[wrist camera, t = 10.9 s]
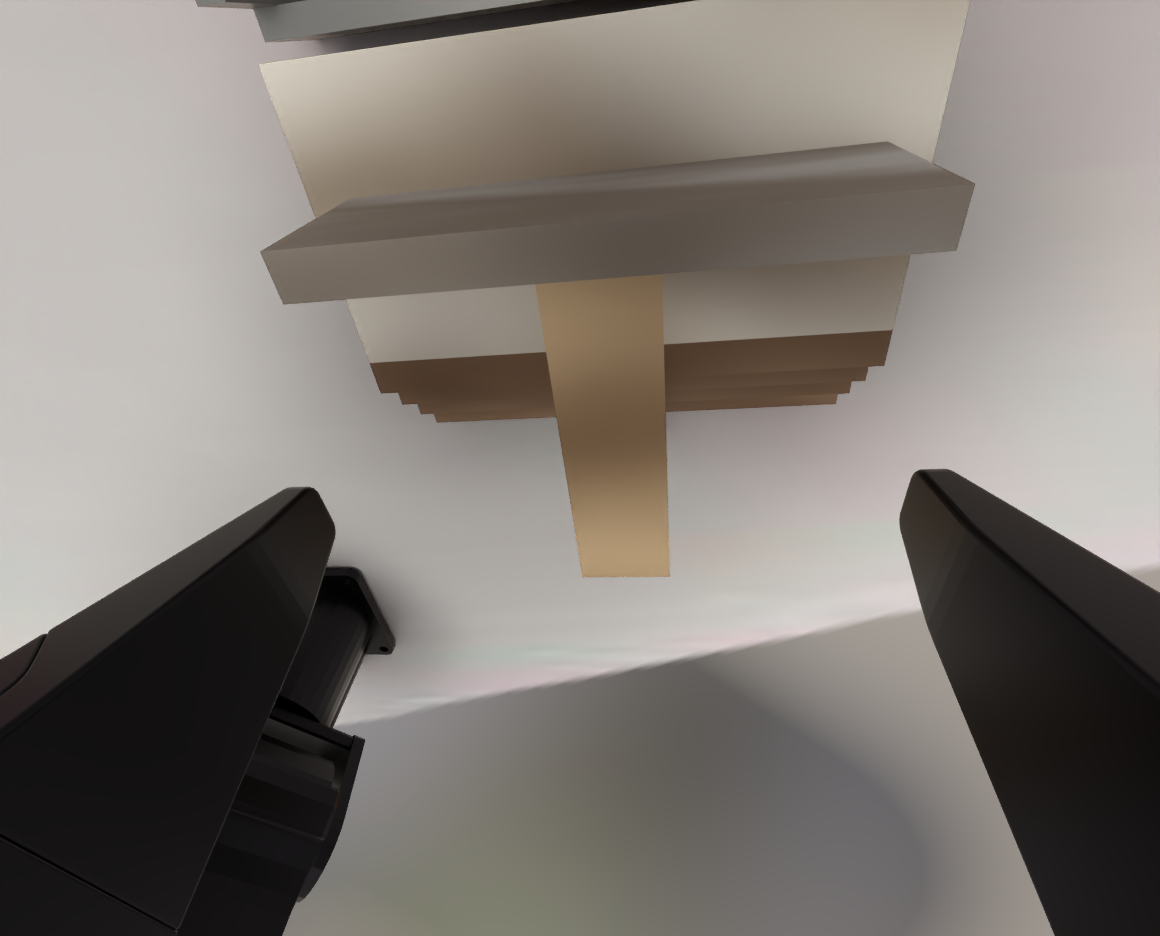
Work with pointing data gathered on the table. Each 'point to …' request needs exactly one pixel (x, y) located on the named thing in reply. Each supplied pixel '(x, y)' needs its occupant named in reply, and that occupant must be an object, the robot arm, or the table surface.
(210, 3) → the box
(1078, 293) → the table surface
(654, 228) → the scraper
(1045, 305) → the table surface
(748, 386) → the bench
